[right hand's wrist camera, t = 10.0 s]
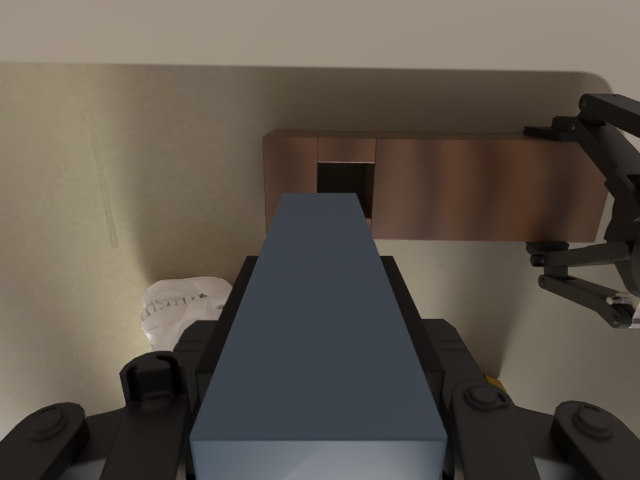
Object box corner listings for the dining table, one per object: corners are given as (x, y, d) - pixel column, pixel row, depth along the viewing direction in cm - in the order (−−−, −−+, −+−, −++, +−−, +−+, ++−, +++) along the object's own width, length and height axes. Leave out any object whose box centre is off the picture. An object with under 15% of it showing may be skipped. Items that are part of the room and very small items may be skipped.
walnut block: (571, 134, 39) (622, 141, 32) (551, 220, 42) (594, 242, 35) (272, 130, 39) (262, 136, 32) (274, 216, 42) (266, 238, 35)
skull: (162, 240, 42) (76, 323, 28) (345, 307, 45) (355, 414, 31) (136, 333, 47) (50, 447, 32) (303, 388, 50) (295, 515, 35)
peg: (356, 192, 21) (450, 436, 6) (354, 260, 22) (425, 599, 7) (282, 192, 21) (186, 437, 6) (284, 260, 22) (212, 598, 7)
